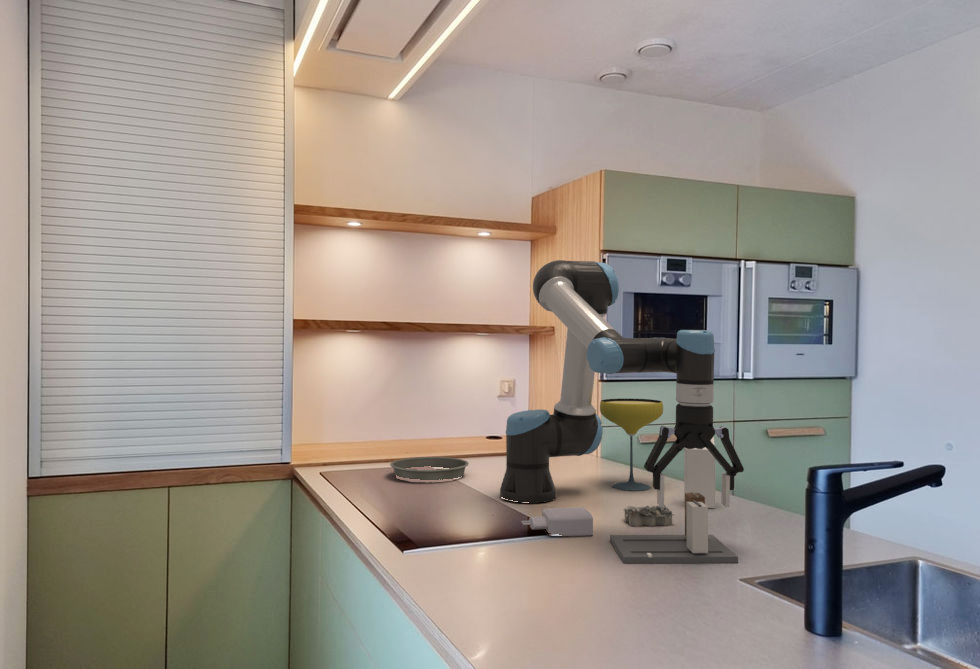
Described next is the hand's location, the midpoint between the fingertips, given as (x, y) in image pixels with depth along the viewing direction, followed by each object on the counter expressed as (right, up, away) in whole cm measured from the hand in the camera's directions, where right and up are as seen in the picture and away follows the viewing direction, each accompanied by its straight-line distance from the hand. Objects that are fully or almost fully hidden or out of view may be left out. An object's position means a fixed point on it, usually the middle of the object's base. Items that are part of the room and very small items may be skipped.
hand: (692, 505), depth 145 cm
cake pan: (-61, -9, +73) cm, 96 cm away
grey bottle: (-28, -9, +10) cm, 31 cm away
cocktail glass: (-1, -9, +57) cm, 58 cm away
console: (-6, -8, -4) cm, 11 cm away
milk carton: (+12, -9, +35) cm, 38 cm away
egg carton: (-5, -9, +18) cm, 21 cm away
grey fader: (-2, -7, -9) cm, 11 cm away
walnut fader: (0, -7, -1) cm, 7 cm away
